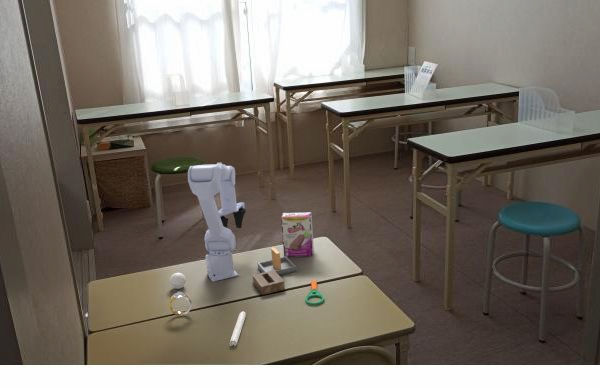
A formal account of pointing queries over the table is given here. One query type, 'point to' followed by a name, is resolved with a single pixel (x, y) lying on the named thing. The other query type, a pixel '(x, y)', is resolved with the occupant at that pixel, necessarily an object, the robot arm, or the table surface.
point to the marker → (237, 329)
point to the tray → (285, 269)
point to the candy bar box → (297, 234)
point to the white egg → (177, 280)
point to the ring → (179, 295)
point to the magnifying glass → (314, 294)
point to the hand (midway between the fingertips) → (232, 230)
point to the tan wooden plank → (276, 259)
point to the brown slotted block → (274, 282)
